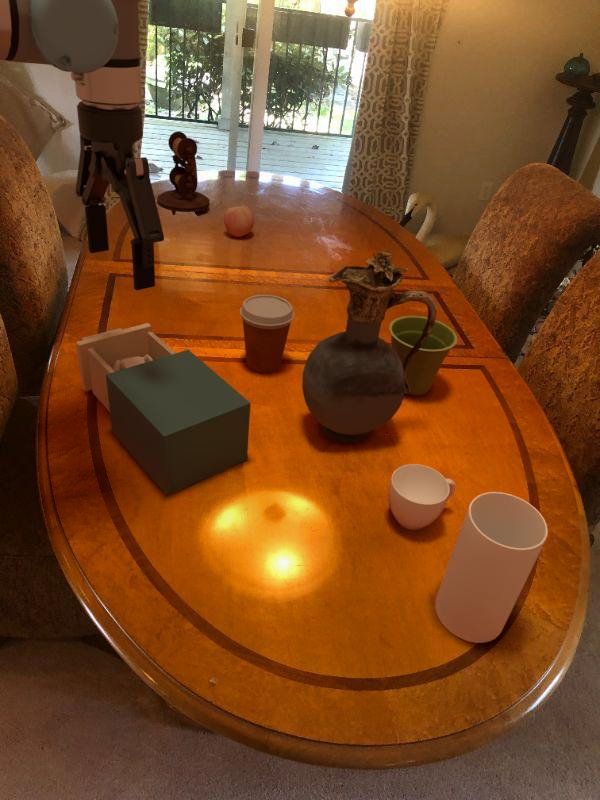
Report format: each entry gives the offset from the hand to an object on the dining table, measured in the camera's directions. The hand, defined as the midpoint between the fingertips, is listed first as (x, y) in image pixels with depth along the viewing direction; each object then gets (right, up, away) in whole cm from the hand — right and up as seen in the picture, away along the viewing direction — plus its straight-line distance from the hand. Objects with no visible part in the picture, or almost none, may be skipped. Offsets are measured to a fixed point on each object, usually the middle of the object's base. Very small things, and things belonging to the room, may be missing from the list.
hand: (120, 268), depth 86 cm
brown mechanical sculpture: (-8, +37, +91) cm, 99 cm away
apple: (+9, +25, +78) cm, 83 cm away
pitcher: (+34, -23, +15) cm, 44 cm away
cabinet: (+7, -25, +7) cm, 27 cm away
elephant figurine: (-2, -17, +14) cm, 22 cm away
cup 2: (+45, -44, -12) cm, 64 cm away
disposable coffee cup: (+18, -12, +28) cm, 36 cm away
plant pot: (+45, -16, +27) cm, 55 cm away
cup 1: (+41, -35, 0) cm, 54 cm away
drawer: (-3, -17, +16) cm, 23 cm away
